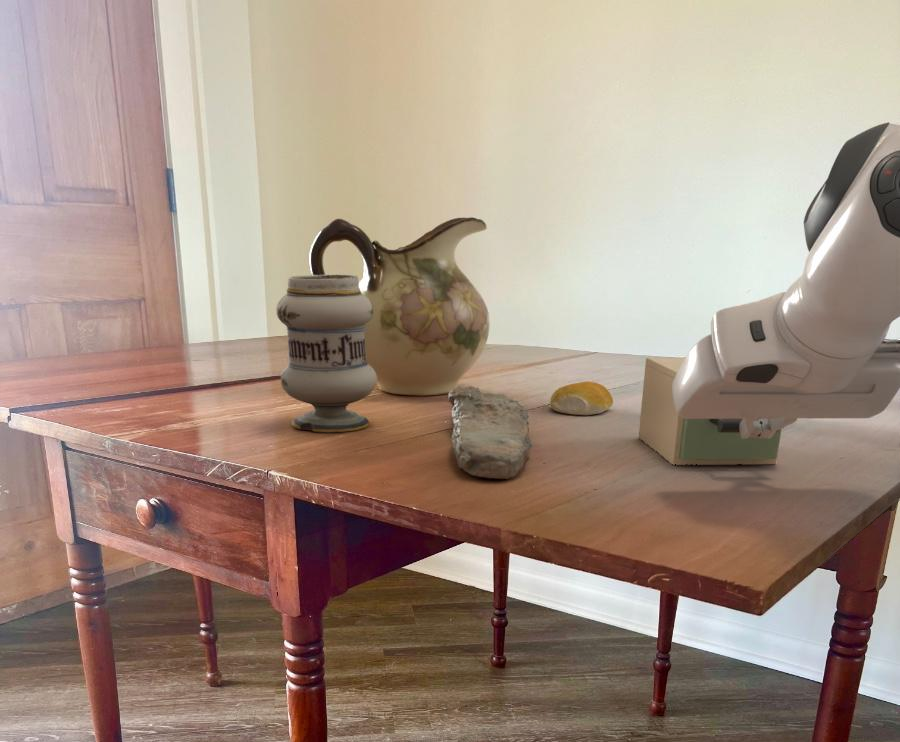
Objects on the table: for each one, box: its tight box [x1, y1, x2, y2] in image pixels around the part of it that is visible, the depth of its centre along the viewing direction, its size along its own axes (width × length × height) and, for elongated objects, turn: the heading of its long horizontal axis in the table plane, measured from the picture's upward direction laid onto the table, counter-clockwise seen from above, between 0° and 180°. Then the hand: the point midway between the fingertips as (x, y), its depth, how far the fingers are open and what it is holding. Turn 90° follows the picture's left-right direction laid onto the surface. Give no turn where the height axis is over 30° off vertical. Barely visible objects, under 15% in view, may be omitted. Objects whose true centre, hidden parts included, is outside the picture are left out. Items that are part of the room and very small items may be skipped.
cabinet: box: [638, 356, 783, 466], centre depth 99 cm, size 14×12×10 cm
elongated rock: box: [447, 385, 533, 480], centre depth 102 cm, size 35×5×10 cm
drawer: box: [679, 419, 782, 460], centre depth 95 cm, size 17×10×8 cm, turn 4°
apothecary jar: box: [275, 274, 378, 433], centre depth 108 cm, size 12×12×18 cm
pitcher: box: [309, 216, 490, 397], centre depth 131 cm, size 22×24×25 cm
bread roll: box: [549, 380, 614, 416], centre depth 122 cm, size 8×9×4 cm
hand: (753, 433), depth 87 cm, fingers closed, pressing on drawer
